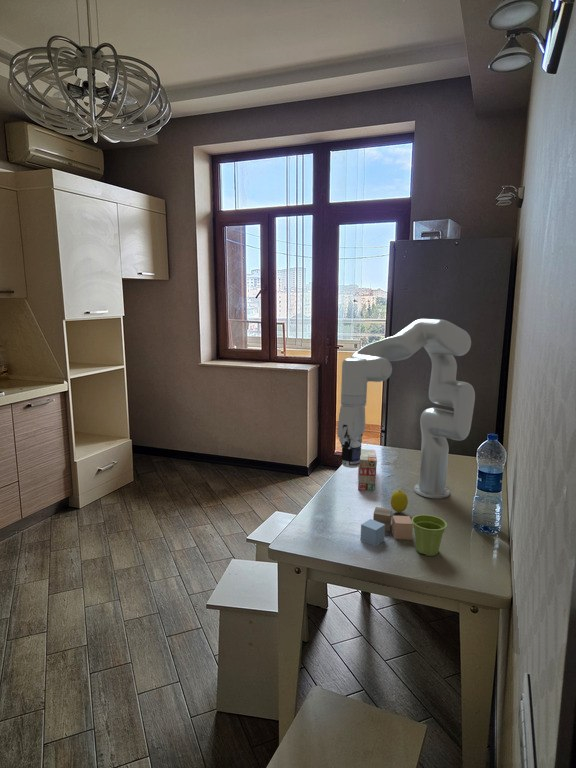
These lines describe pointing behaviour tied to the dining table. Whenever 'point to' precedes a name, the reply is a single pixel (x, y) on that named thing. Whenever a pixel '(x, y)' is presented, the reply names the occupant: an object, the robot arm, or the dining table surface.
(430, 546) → the plant pot
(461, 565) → the dining table surface
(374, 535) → the slate blue cube
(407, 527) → the terracotta cube
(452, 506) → the dining table surface
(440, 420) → the robot arm
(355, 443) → the pill bottle
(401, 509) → the lemon
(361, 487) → the stack of blocks
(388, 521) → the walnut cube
